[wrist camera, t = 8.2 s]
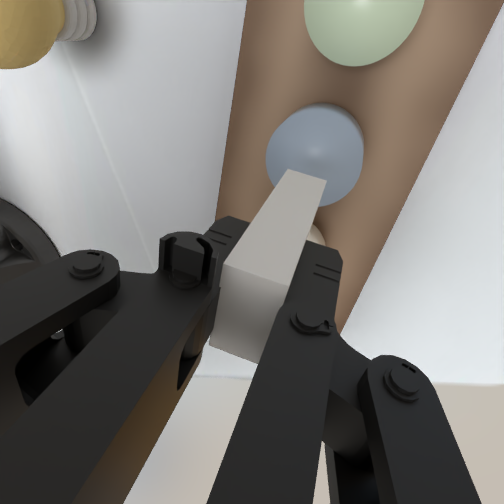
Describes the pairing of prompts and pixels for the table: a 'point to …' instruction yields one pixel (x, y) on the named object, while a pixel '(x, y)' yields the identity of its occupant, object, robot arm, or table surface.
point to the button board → (359, 106)
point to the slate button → (318, 148)
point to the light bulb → (41, 28)
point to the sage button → (360, 27)
